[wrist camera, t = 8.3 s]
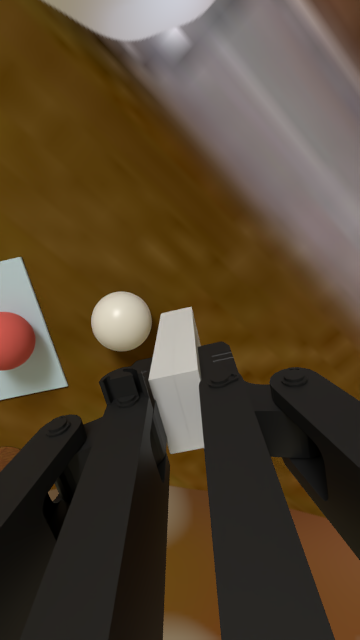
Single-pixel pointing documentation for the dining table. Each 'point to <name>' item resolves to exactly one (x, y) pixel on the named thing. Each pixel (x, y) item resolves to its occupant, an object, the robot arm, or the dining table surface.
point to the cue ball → (121, 321)
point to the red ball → (15, 340)
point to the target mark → (43, 365)
